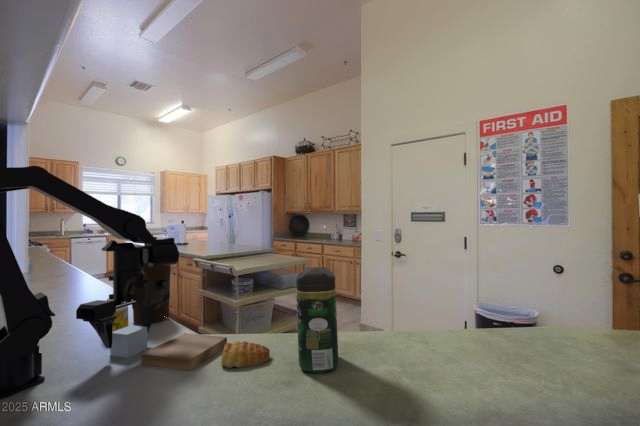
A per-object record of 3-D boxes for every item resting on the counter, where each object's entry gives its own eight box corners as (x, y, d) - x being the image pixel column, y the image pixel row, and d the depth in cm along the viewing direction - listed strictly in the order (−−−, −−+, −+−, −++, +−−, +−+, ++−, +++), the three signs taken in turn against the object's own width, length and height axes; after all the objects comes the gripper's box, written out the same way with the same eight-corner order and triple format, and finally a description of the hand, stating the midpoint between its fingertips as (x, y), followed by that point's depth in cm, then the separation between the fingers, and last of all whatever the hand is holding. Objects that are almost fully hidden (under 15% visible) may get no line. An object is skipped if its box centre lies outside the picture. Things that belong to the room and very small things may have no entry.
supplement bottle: (132, 329, 82) (132, 294, 83) (122, 337, 77) (121, 299, 78) (110, 331, 82) (110, 295, 82) (99, 338, 76) (99, 300, 77)
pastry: (270, 352, 65) (270, 335, 66) (268, 367, 59) (268, 347, 59) (225, 356, 64) (225, 338, 64) (219, 371, 58) (218, 351, 58)
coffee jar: (299, 353, 64) (297, 265, 65) (337, 352, 64) (334, 264, 65) (296, 376, 55) (293, 272, 55) (340, 374, 55) (336, 271, 55)
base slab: (189, 370, 58) (189, 360, 58) (141, 363, 61) (141, 353, 61) (227, 346, 69) (226, 337, 69) (184, 341, 73) (184, 333, 73)
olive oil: (176, 313, 97) (175, 235, 98) (161, 324, 86) (160, 237, 87) (142, 315, 96) (142, 236, 97) (123, 326, 86) (122, 238, 87)
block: (127, 358, 64) (127, 334, 65) (110, 355, 66) (110, 332, 66) (147, 348, 69) (147, 326, 69) (130, 346, 71) (130, 325, 71)
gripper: (116, 278, 57) (116, 362, 56) (187, 264, 75) (188, 328, 74) (74, 276, 60) (74, 356, 60) (152, 264, 78) (152, 325, 77)
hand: (128, 339), depth 68 cm, fingers open, 9 cm apart
